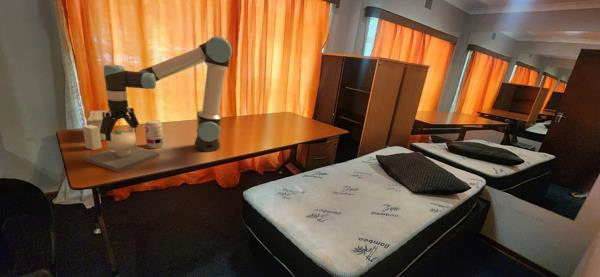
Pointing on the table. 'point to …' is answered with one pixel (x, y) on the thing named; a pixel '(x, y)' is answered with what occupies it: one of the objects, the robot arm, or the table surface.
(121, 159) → the base
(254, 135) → the table surface
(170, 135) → the table surface
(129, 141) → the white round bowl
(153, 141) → the supplement can
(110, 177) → the table surface
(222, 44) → the robot arm
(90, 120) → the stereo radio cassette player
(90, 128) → the skincare box
